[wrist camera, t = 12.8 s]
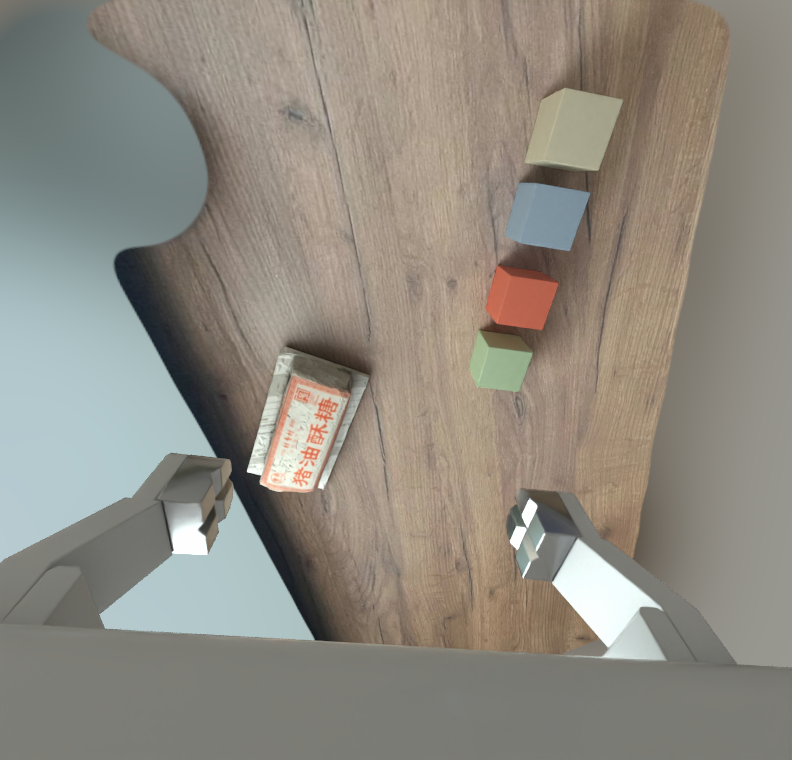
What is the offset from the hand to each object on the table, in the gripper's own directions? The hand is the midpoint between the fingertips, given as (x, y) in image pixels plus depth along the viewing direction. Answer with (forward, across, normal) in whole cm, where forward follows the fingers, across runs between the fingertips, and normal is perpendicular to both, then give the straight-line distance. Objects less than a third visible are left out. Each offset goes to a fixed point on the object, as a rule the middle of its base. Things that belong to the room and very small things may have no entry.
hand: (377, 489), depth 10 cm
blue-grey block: (+29, -13, -7) cm, 33 cm away
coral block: (+29, -13, 0) cm, 32 cm away
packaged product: (+29, +7, +19) cm, 36 cm away
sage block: (+29, -13, +7) cm, 33 cm away
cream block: (+29, -13, -13) cm, 34 cm away
